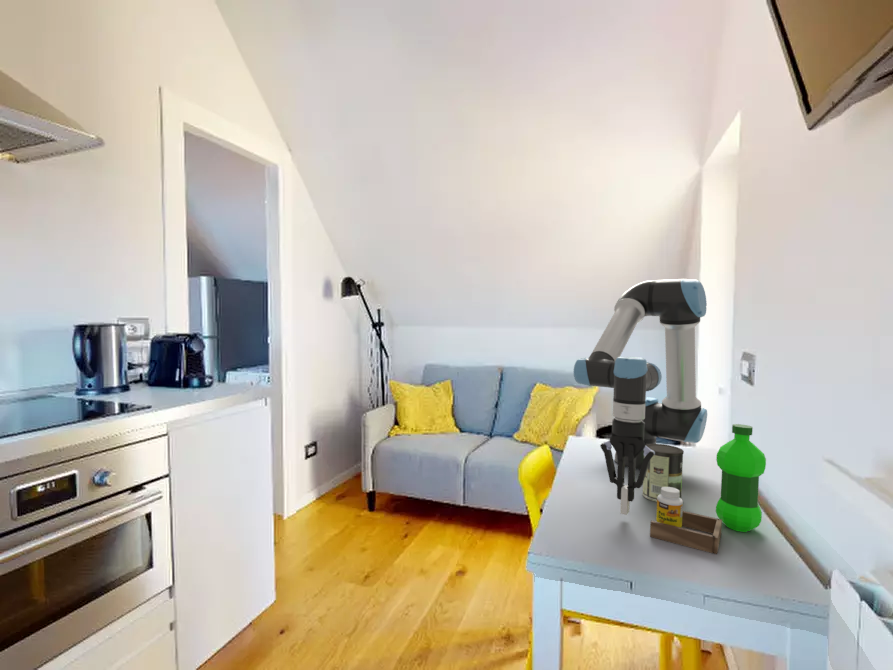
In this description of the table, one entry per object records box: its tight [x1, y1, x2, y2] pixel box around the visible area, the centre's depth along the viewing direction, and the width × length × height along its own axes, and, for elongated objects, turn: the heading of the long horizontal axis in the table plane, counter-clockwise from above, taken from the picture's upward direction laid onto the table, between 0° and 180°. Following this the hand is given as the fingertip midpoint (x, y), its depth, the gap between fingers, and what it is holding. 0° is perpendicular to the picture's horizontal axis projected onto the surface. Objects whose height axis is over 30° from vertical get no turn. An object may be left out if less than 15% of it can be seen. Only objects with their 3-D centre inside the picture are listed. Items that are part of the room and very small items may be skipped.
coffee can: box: [642, 443, 685, 503], centre depth 134 cm, size 10×10×14 cm
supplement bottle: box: [655, 487, 684, 528], centre depth 111 cm, size 6×6×10 cm
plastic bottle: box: [715, 423, 767, 533], centre depth 115 cm, size 10×10×25 cm
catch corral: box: [649, 510, 723, 555], centre depth 110 cm, size 12×14×4 cm
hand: (624, 512), depth 118 cm, fingers closed
